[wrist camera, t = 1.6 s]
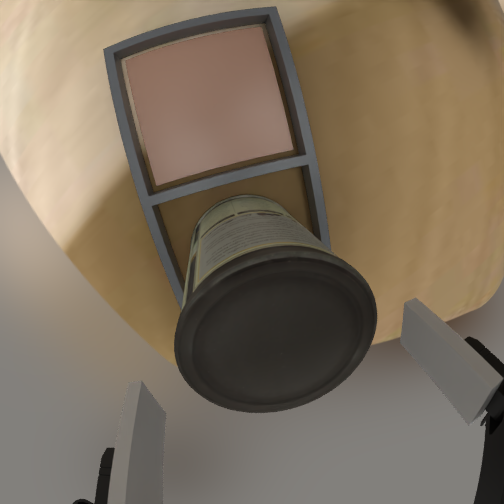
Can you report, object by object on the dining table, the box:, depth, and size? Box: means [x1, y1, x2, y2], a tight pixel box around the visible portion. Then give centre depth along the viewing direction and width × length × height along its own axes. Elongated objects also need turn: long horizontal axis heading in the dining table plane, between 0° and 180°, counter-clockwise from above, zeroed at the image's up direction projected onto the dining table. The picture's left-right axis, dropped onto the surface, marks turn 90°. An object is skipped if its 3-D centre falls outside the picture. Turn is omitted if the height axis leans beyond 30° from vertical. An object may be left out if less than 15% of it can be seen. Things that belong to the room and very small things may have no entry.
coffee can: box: [174, 195, 377, 413], centre depth 19 cm, size 10×10×14 cm
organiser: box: [103, 7, 331, 310], centre depth 22 cm, size 15×28×2 cm, turn 14°
